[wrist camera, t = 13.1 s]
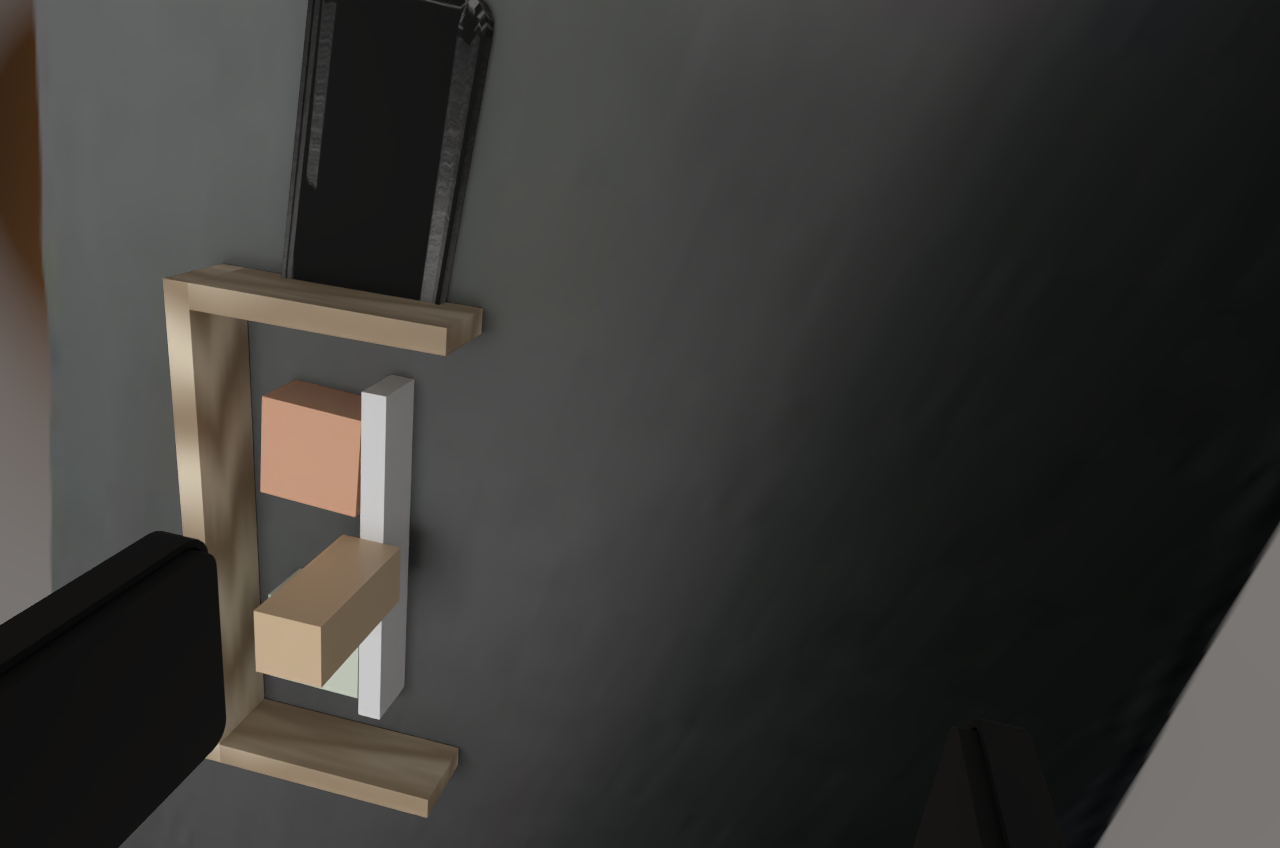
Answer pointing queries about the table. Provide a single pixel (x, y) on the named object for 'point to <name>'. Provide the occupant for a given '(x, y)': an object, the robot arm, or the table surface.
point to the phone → (384, 143)
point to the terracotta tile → (312, 446)
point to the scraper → (354, 572)
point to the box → (226, 514)
